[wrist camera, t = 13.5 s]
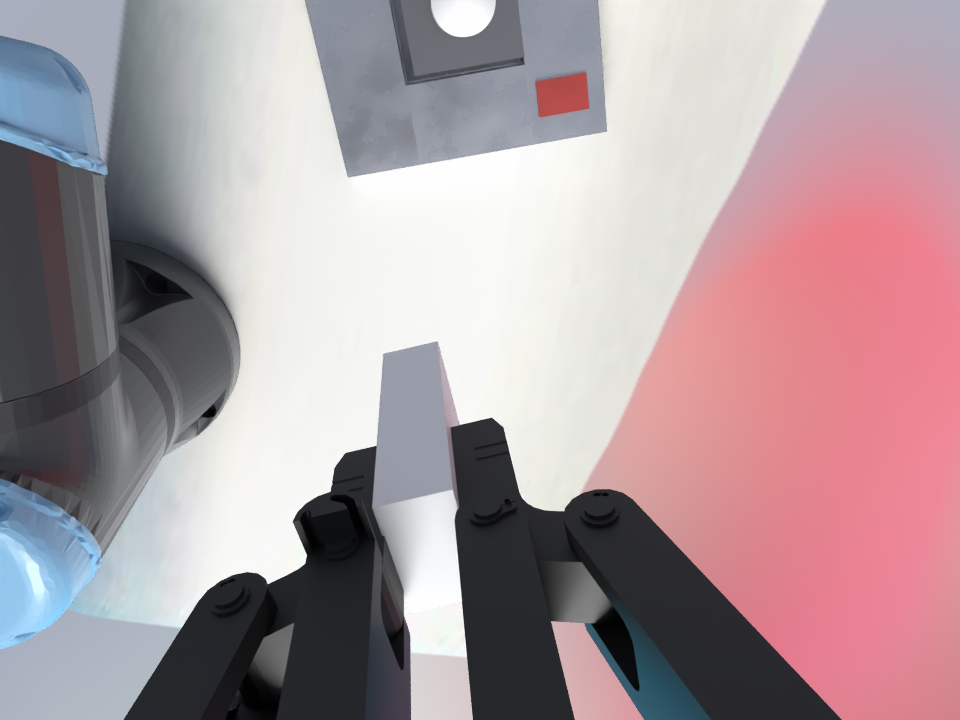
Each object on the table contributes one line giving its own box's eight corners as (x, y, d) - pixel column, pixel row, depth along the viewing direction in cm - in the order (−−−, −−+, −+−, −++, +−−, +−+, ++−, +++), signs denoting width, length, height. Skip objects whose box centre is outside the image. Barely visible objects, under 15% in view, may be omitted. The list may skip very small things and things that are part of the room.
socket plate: (351, 170, 43) (347, 178, 41) (279, -131, 36) (269, -143, 34) (597, 126, 43) (607, 131, 41) (573, -183, 36) (584, -199, 34)
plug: (415, 69, 40) (413, 79, 30) (396, -36, 38) (387, -62, 28) (506, 53, 40) (533, 58, 30) (492, -53, 38) (517, -85, 28)
